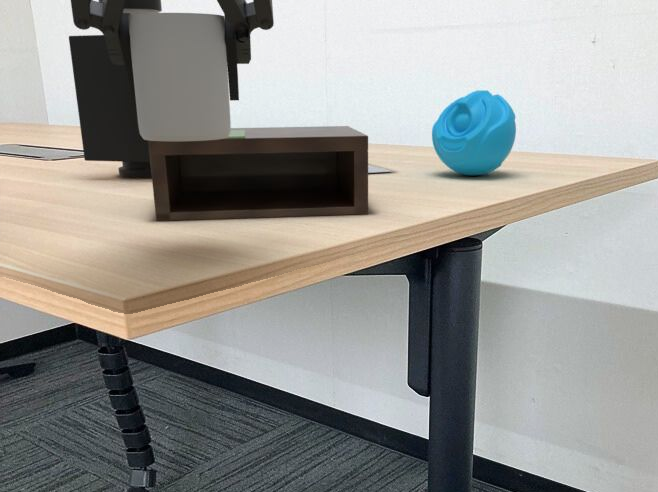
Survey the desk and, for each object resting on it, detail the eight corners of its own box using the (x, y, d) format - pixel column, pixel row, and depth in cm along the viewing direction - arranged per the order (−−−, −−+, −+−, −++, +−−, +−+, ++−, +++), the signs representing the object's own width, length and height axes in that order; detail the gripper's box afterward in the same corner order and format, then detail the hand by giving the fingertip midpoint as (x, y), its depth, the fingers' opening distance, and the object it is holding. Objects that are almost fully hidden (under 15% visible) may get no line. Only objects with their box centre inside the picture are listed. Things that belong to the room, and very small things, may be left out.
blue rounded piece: (416, 175, 108) (418, 91, 104) (462, 168, 116) (465, 89, 112) (486, 182, 101) (491, 91, 97) (530, 174, 108) (536, 89, 104)
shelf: (156, 220, 76) (147, 138, 74) (170, 197, 91) (164, 127, 88) (368, 214, 79) (368, 133, 76) (348, 192, 94) (348, 124, 91)
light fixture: (196, 172, 114) (182, -6, 106) (161, 182, 104) (142, -13, 96) (127, 170, 118) (108, -2, 109) (86, 179, 108) (61, -10, 99)
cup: (154, 143, 55) (141, 11, 52) (121, 134, 63) (108, 20, 60) (245, 138, 59) (238, 14, 55) (202, 131, 67) (195, 22, 64)
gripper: (-54, -175, 39) (59, 124, 60) (325, -162, 42) (308, 121, 63) (-37, -257, 42) (65, 55, 63) (315, -240, 45) (302, 55, 66)
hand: (186, 88), depth 63 cm, fingers closed on cup, 7 cm apart
